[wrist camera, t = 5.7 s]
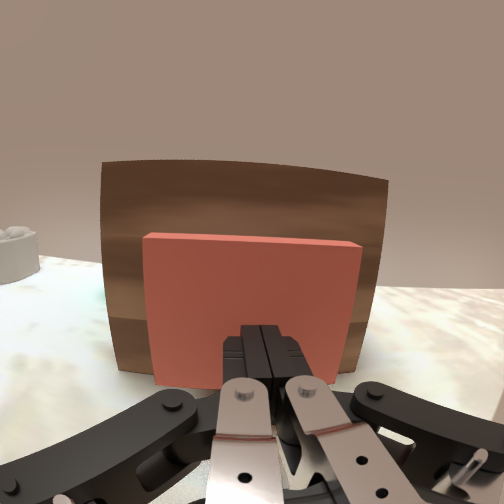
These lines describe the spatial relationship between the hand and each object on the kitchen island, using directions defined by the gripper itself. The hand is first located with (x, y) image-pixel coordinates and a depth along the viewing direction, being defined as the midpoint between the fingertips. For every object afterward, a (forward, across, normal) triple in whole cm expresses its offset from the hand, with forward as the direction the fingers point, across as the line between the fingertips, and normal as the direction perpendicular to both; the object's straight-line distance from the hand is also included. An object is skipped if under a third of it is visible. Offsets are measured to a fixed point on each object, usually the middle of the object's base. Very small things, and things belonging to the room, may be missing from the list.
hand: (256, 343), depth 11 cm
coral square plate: (+6, 0, +4) cm, 8 cm away
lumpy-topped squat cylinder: (+27, +42, +8) cm, 51 cm away
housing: (+13, 0, +8) cm, 16 cm away
